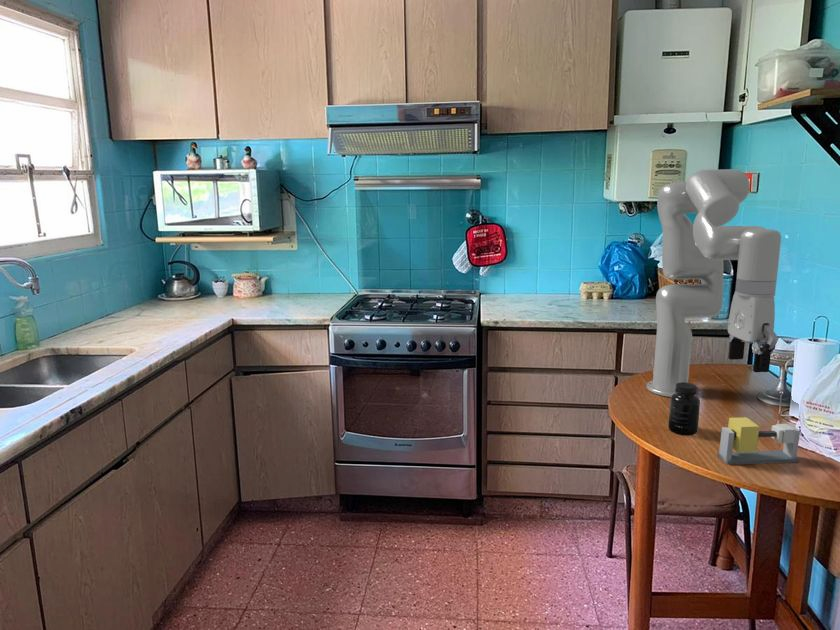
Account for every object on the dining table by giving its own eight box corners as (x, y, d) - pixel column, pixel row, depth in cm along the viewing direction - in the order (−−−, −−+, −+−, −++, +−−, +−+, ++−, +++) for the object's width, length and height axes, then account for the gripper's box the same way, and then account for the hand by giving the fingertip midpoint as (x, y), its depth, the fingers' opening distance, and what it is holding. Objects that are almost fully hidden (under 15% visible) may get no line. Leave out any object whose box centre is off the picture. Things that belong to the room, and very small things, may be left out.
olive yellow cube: (726, 442, 140) (729, 417, 139) (743, 441, 140) (746, 417, 139) (738, 452, 135) (741, 426, 134) (756, 451, 135) (759, 426, 134)
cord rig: (717, 455, 140) (720, 424, 138) (785, 453, 141) (790, 422, 139) (727, 464, 136) (730, 432, 134) (798, 462, 137) (802, 430, 135)
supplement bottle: (672, 422, 158) (676, 378, 156) (700, 429, 154) (705, 384, 151) (663, 431, 153) (667, 386, 150) (692, 438, 149) (697, 392, 146)
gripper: (717, 282, 139) (711, 355, 142) (761, 295, 122) (753, 377, 126) (749, 281, 139) (742, 354, 143) (798, 294, 122) (789, 376, 126)
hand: (747, 365), depth 134 cm, fingers open, 9 cm apart
